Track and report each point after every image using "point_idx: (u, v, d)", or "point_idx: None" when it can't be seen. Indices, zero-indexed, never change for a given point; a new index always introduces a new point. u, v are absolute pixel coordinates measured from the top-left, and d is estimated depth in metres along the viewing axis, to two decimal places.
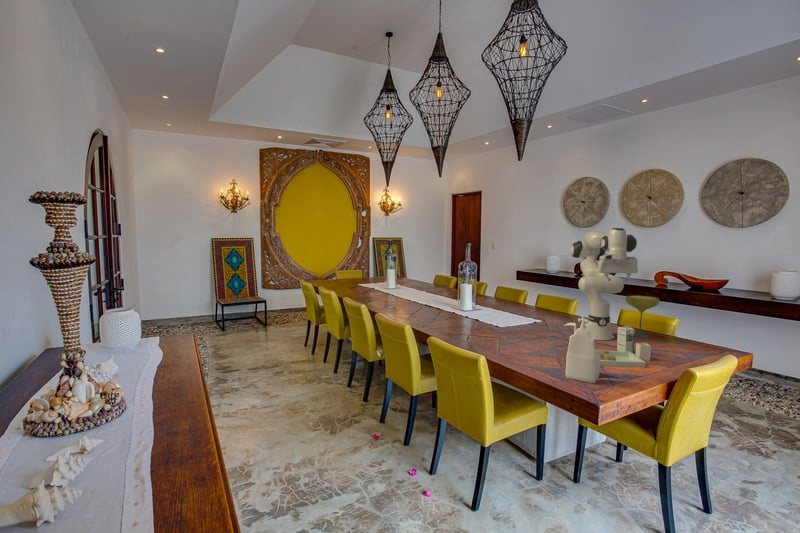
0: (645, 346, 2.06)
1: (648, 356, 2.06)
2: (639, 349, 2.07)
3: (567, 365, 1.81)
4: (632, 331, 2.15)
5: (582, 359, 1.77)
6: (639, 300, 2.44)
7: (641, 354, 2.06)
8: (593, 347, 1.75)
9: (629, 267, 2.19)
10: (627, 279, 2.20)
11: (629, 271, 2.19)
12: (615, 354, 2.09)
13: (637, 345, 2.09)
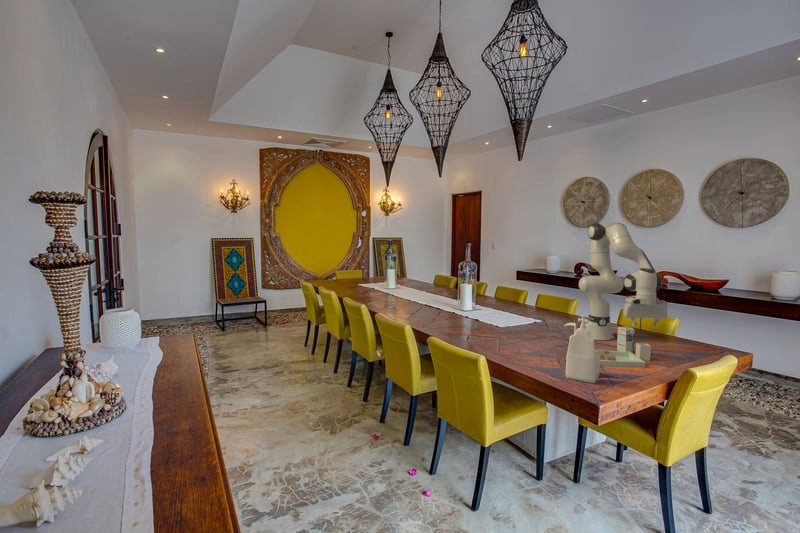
0: (645, 346, 2.06)
1: (648, 356, 2.06)
2: (639, 349, 2.07)
3: (567, 365, 1.81)
4: (632, 331, 2.15)
5: (582, 359, 1.77)
6: None
7: (641, 354, 2.06)
8: (593, 347, 1.75)
9: (658, 312, 2.04)
10: (655, 324, 2.05)
11: (658, 316, 2.04)
12: (615, 354, 2.09)
13: (637, 345, 2.09)
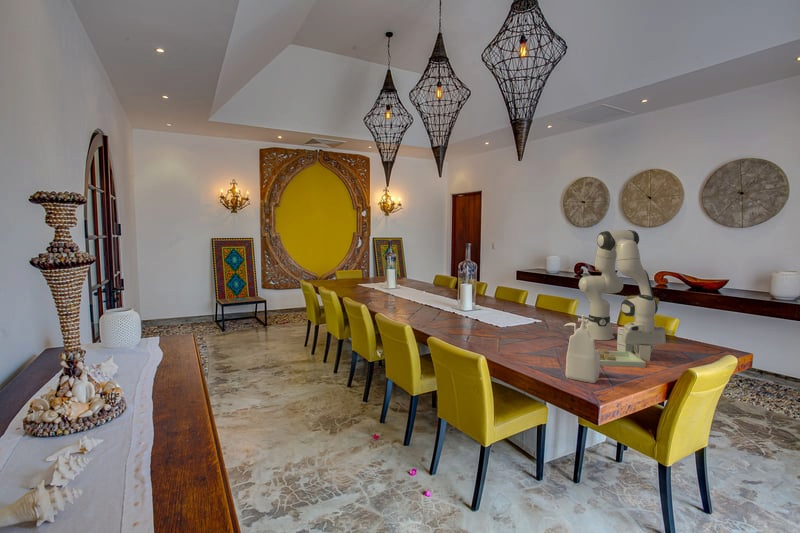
0: (645, 346, 2.06)
1: (648, 356, 2.06)
2: (639, 349, 2.07)
3: (567, 365, 1.81)
4: None
5: (582, 359, 1.77)
6: None
7: (641, 353, 2.06)
8: (593, 347, 1.75)
9: (656, 338, 2.05)
10: None
11: (656, 343, 2.05)
12: (615, 354, 2.09)
13: (637, 345, 2.09)
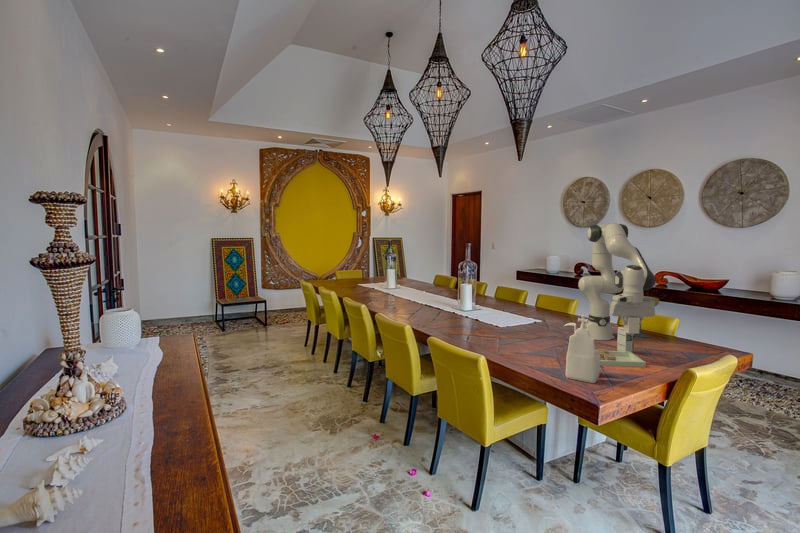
0: (634, 318, 1.98)
1: (637, 328, 1.98)
2: (628, 321, 1.99)
3: (567, 365, 1.81)
4: None
5: (582, 359, 1.77)
6: None
7: (630, 326, 1.98)
8: (593, 347, 1.75)
9: (645, 310, 1.97)
10: None
11: (645, 314, 1.97)
12: (615, 354, 2.09)
13: (626, 318, 2.01)
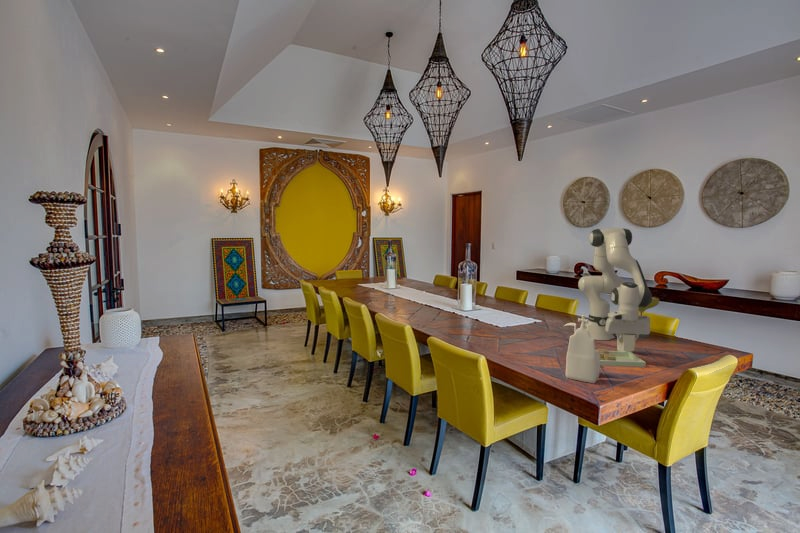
0: (629, 336, 1.97)
1: (632, 346, 1.97)
2: (623, 339, 1.99)
3: (567, 365, 1.81)
4: None
5: (582, 359, 1.77)
6: None
7: (625, 343, 1.98)
8: (593, 347, 1.75)
9: (641, 328, 1.97)
10: (635, 340, 1.99)
11: (640, 332, 1.97)
12: (615, 354, 2.09)
13: (621, 335, 2.01)
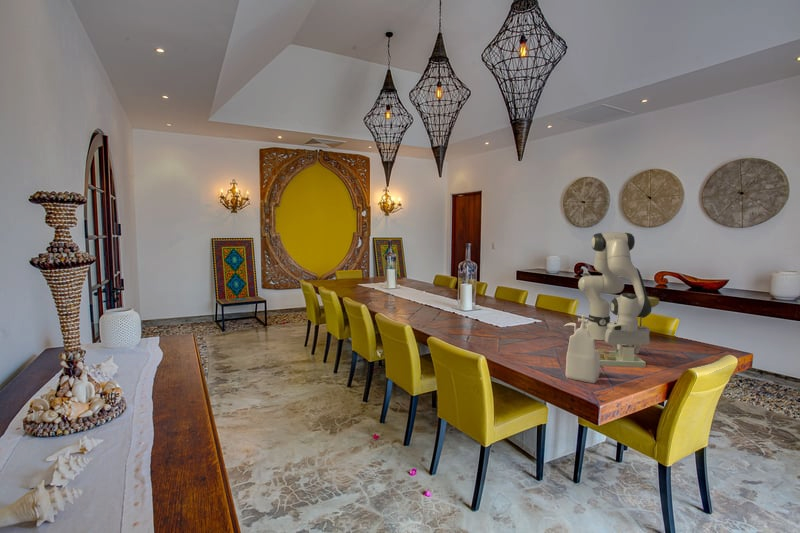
0: (628, 348, 1.98)
1: (631, 358, 1.98)
2: (622, 351, 1.99)
3: (567, 365, 1.81)
4: None
5: (582, 359, 1.77)
6: None
7: (624, 356, 1.99)
8: (593, 347, 1.75)
9: (640, 338, 1.98)
10: (637, 351, 1.99)
11: (640, 343, 1.98)
12: (615, 354, 2.09)
13: (620, 347, 2.02)
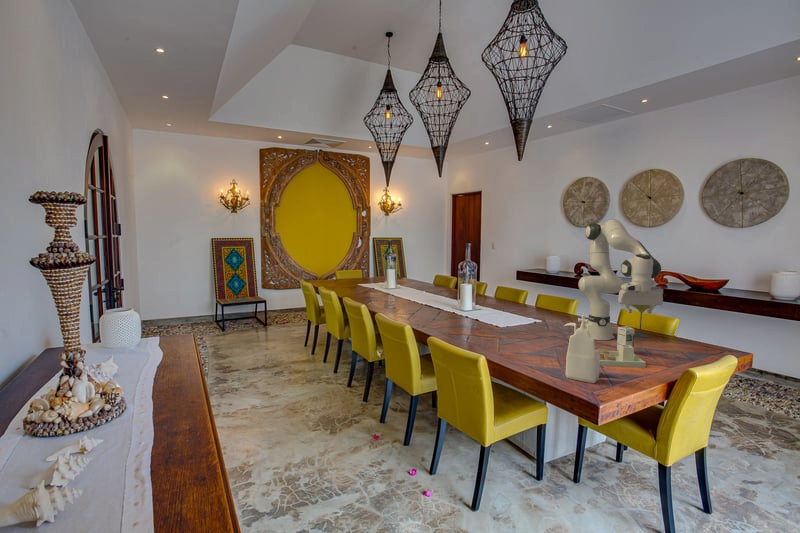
0: (628, 348, 1.98)
1: (631, 358, 1.98)
2: (622, 351, 1.99)
3: (567, 365, 1.81)
4: (632, 331, 2.15)
5: (582, 359, 1.77)
6: None
7: (624, 356, 1.99)
8: (593, 347, 1.75)
9: (653, 298, 2.00)
10: (650, 311, 2.02)
11: (653, 303, 2.00)
12: (615, 354, 2.09)
13: (620, 347, 2.02)
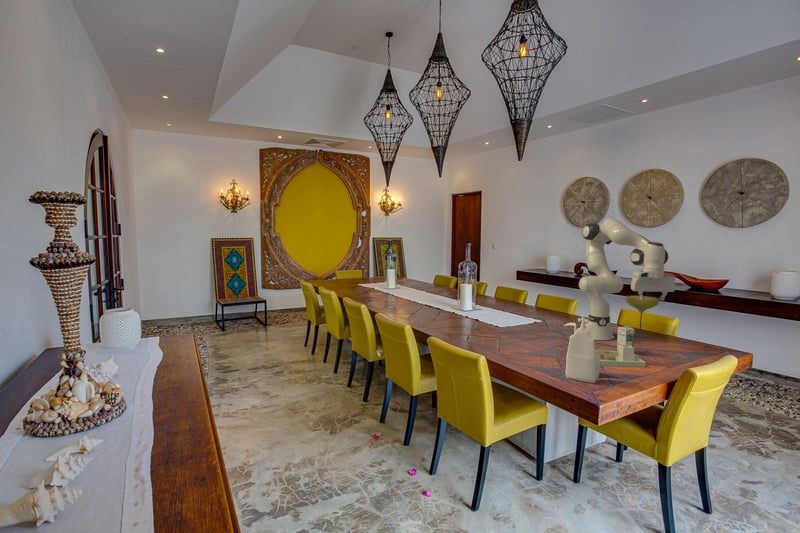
0: (628, 348, 1.98)
1: (631, 358, 1.98)
2: (622, 351, 1.99)
3: (567, 365, 1.81)
4: (632, 331, 2.15)
5: (582, 359, 1.77)
6: (639, 300, 2.44)
7: (624, 356, 1.99)
8: (593, 347, 1.75)
9: (666, 285, 2.04)
10: (663, 298, 2.05)
11: (666, 289, 2.04)
12: (615, 354, 2.09)
13: (620, 347, 2.02)
